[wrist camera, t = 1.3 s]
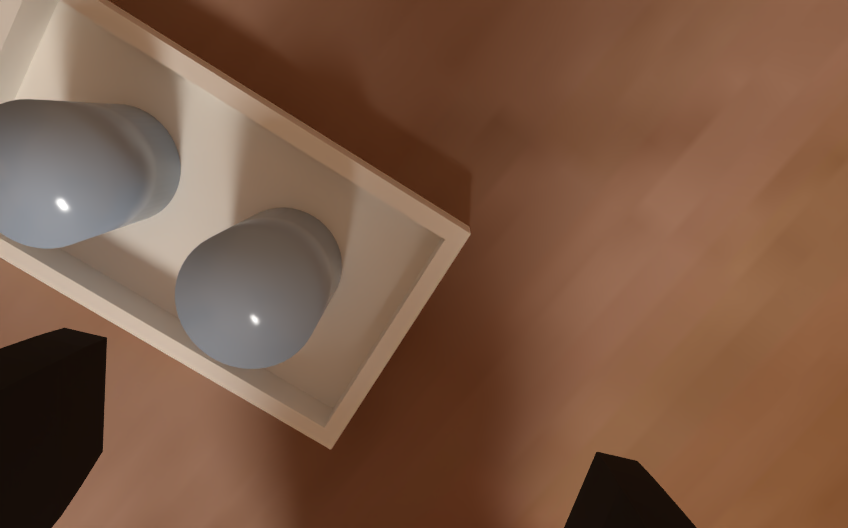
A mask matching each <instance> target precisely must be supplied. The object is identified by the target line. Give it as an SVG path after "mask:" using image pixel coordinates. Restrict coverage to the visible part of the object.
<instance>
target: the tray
mask: <svg viewBox="0 0 848 528" xmlns="http://www.w3.org/2000/svg"><path fill="white" fill-rule="evenodd" d="M18 99H35V100H55V101H75V102H94V103H114V104H126V105H130V106H134V107H136V108H139V109H141V110H143V111H145V112H147V113H149V114H150V115H152V116H153V117H155V118H156V119H157V120H158V121H159V122H160V123H161V124H162V125H163V126H164V127H165V128H166V129H167V131H168V132H169V134H170V135H171V137H172V139H173V141H174V142H175V145H176V147H177V150H178V153H179V157H180V164H181V174H180V181H179V185H178V188H177V191H176V193H175V195H174V197H173V198H172V200H171V201H170V203H169V204H168V205H167V206H166V207H165V208H164V209H163V210H162V211H160V212H159V213H157V214H156V215H154V216H152V217H150V218H147V219H144V220H141V221H138V222H136V223H133V224H130V225H127V226H124V227H121V228H118V229H115V230H112V231H109V232H107V233H104V234H101V235H98V236H95V237H92V238H89V239H86V240H83V241H80V242H77V243H75V244H72V245H68V246H65V247H60V248H52V249H43V248H35V247H30V246H26V245H23V244H20V243H18V242H16V241H13V240H11V239H9V238H8V237H6V236H4V235H3V234H1V233H0V258H2V259H4V260H6V261H7V262H9V263H11V264H12V265H14V266H16V267H18V268H19V269H21V270H23V271H24V272H26V273H28V274H30V275H31V276H33V277H35V278H36V279H38V280H40V281H42V282H43V283H45V284H47V285H48V286H50V287H52V288H54V289H55V290H57V291H59V292H61V293H62V294H64V295H66V296H67V297H69V298H71V299H73V300H74V301H76V302H78V303H79V304H81V305H83V306H85V307H86V308H88V309H90V310H91V311H93V312H95V313H97V314H98V315H100V316H102V317H103V318H105V319H107V320H109V321H110V322H112V323H114V324H116V325H117V326H119V327H121V328H122V329H124V330H126V331H128V332H129V333H131V334H133V335H134V336H136V337H138V338H140V339H141V340H143V341H145V342H146V343H148V344H150V345H152V346H153V347H155V348H157V349H158V350H160V351H162V352H164V353H165V354H167V355H169V356H170V357H172V358H174V359H176V360H177V361H179V362H181V363H183V364H184V365H186V366H188V367H189V368H191V369H193V370H195V371H196V372H198V373H200V374H201V375H203V376H205V377H207V378H208V379H210V380H212V381H213V382H215V383H217V384H219V385H220V386H222V387H224V388H225V389H227V390H229V391H231V392H232V393H234V394H236V395H238V396H239V397H241V398H243V399H244V400H246V401H248V402H250V403H251V404H253V405H255V406H256V407H258V408H260V409H262V410H263V411H265V412H267V413H268V414H270V415H272V416H274V417H275V418H277V419H279V420H280V421H282V422H284V423H286V424H287V425H289V426H291V427H293V428H294V429H296V430H298V431H299V432H301V433H303V434H305V435H306V436H308V437H310V438H311V439H313V440H315V441H317V442H318V443H320V444H322V445H323V446H325V447H327V448H329V449H330V450H331V449H332V447H333V446H334V444H335V443H336V441H337V440H338V438H339V437H340V435H341V434H342V432H343V431H344V429H345V427H346V426H347V424H348V423H349V421H350V420H351V418H352V417H353V415H354V414H355V412H356V410H357V409H358V407H359V406H360V404H361V403H362V401H363V400H364V398H365V397H366V395H367V393H368V392H369V390H370V389H371V387H372V386H373V384H374V383H375V381H376V380H377V378H378V377H379V375H380V373H381V372H382V370H383V369H384V367H385V366H386V364H387V363H388V361H389V360H390V358H391V356H392V355H393V353H394V352H395V350H396V349H397V347H398V346H399V344H400V343H401V341H402V339H403V338H404V336H405V335H406V333H407V332H408V330H409V329H410V327H411V326H412V324H413V323H414V321H415V319H416V318H417V316H418V315H419V313H420V312H421V310H422V309H423V307H424V306H425V304H426V302H427V301H428V299H429V298H430V296H431V295H432V293H433V292H434V290H435V289H436V287H437V285H438V284H439V282H440V281H441V279H442V278H443V276H444V275H445V273H446V272H447V270H448V269H449V267H450V265H451V264H452V262H453V261H454V259H455V258H456V256H457V255H458V253H459V252H460V250H461V248H462V247H463V245H464V244H465V242H466V241H467V239H468V238H469V236H470V235H471V232H470V227H469V226H468V225H466V224H465V223H463V222H461V221H460V220H458V219H457V218H455V217H453V216H452V215H450V214H449V213H447V212H445V211H444V210H442V209H441V208H439V207H437V206H436V205H434V204H433V203H431V202H429V201H428V200H426V199H425V198H423V197H421V196H420V195H418V194H417V193H415V192H413V191H412V190H410V189H409V188H407V187H405V186H404V185H402V184H401V183H399V182H397V181H396V180H394V179H393V178H391V177H389V176H388V175H386V174H385V173H383V172H381V171H380V170H378V169H377V168H375V167H373V166H372V165H370V164H369V163H367V162H365V161H364V160H362V159H361V158H359V157H357V156H356V155H354V154H353V153H351V152H350V151H348V150H346V149H345V148H343V147H342V146H340V145H338V144H337V143H335V142H334V141H332V140H330V139H329V138H327V137H326V136H324V135H322V134H321V133H319V132H318V131H316V130H314V129H313V128H311V127H310V126H308V125H306V124H305V123H303V122H302V121H300V120H298V119H297V118H295V117H294V116H292V115H290V114H289V113H287V112H286V111H284V110H282V109H281V108H279V107H278V106H276V105H274V104H273V103H271V102H270V101H268V100H266V99H265V98H263V97H262V96H260V95H258V94H257V93H255V92H254V91H252V90H250V89H249V88H247V87H246V86H244V85H242V84H241V83H239V82H238V81H236V80H234V79H233V78H231V77H230V76H228V75H226V74H225V73H223V72H222V71H220V70H218V69H217V68H215V67H214V66H212V65H210V64H209V63H207V62H206V61H204V60H202V59H201V58H199V57H198V56H196V55H195V54H193V53H191V52H190V51H188V50H187V49H185V48H183V47H182V46H180V45H179V44H177V43H175V42H174V41H172V40H171V39H169V38H167V37H166V36H164V35H163V34H161V33H159V32H158V31H156V30H155V29H153V28H151V27H150V26H148V25H147V24H145V23H143V22H142V21H140V20H139V19H137V18H135V17H134V16H132V15H131V14H129V13H127V12H126V11H124V10H123V9H121V8H119V7H118V6H116V5H115V4H113V3H111V2H110V1H108V0H0V104H2V103H5V102H8V101H12V100H18ZM284 207H285V208H293V209H297V210H301V211H303V212H306V213H308V214H310V215H312V216H314V217H315V218H317V219H318V220H319V221H321V222H322V223H323V224H324V225H325V226H326V227H327V228H328V229H329V231H330V232H331V233H332V235H333V236H334V238H335V240H336V242H337V244H338V246H339V249H340V253H341V258H342V274H341V279H340V282H339V285H338V288H337V289H336V291H335V293H334V295H333V297H332V299H331V300H330V302H329V304H328V306H327V308H326V310H325V311H324V313H323V315H322V317H321V319H320V320H319V322H318V324H317V326H316V328H315V329H314V331H313V333H312V335H311V337H310V338H309V340H308V341H307V343H306V344H305V345H304V346H303V347H302V348H301V349H300V350H299V352H297V353H296V354H295V355H293V356H292V357H291V358H289V359H287V360H286V361H284V362H282V363H279V364H277V365H274V366H270V367H267V368H260V369H244V368H237V367H233V366H229V365H226V364H224V363H221V362H219V361H217V360H215V359H213V358H211V357H210V356H208V355H207V354H205V353H204V352H203V351H202V350H201V349H199V348H198V347H197V346H196V345H195V344H194V343H193V341H192V340H191V339H190V338H189V336H188V335H187V334H186V332H185V330H184V328H183V326H182V325H181V322H180V320H179V317H178V314H177V310H176V304H175V286H176V280H177V277H178V273H179V271H180V269H181V266H182V264H183V263H184V261H185V260H186V258H187V257H188V255H189V254H190V253H191V252H192V251H193V250H194V249H195V248H196V247H197V246H198V245H199V244H201V243H202V242H204V241H205V240H207V239H209V238H210V237H212V236H214V235H216V234H218V233H220V232H222V231H224V230H226V229H228V228H230V227H232V226H234V225H235V224H237V223H239V222H241V221H243V220H245V219H247V218H249V217H251V216H253V215H255V214H257V213H259V212H261V211H264V210H267V209H272V208H284Z"/></svg>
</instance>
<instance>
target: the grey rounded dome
mask: <svg viewBox="0 0 848 528" xmlns="http://www.w3.org/2000/svg"><path fill="white" fill-rule="evenodd" d="M341 274H342V258H341V253H340V249H339V246H338V244H337V242H336V240H335V238H334V236H333V235H332V233H331V232H330V231H329V229H328V228H327V227H326V226H325V225H324V224H323V223H322V222H321V221H319V220H318V219H317V218H315V217H314V216H312V215H310V214H308V213H306V212H303V211H301V210H297V209H293V208H285V207H284V208H272V209H267V210H264V211H261V212H259V213H257V214H255V215H253V216H251V217H249V218H247V219H245V220H243V221H241V222H239V223H237V224H235V225H234V226H232V227H230V228H228V229H226V230H224V231H222V232H220V233H218V234H216V235H214V236H212V237H210V238H209V239H207V240H205V241H204V242H202V243H201V244H199V245H198V246H197V247H196V248H195V249H194V250H193V251H192V252H191V253H190V254H189V255H188V257H187V258H186V260H185V261H184V263H183V264H182V266H181V269H180V271H179V273H178V277H177V280H176V286H175V304H176V310H177V314H178V317H179V320H180V322H181V325H182V326H183V328H184V330H185V332H186V334H187V335H188V336H189V338H190V339H191V340H192V341H193V343H194V344H195V345H196V346H197V347H198V348H199V349H201V350H202V351H203V352H204V353H205V354H207V355H208V356H210V357H211V358H213V359H215V360H217V361H219V362H221V363H224V364H226V365H229V366H233V367H237V368H244V369H260V368H267V367H270V366H274V365H277V364H279V363H282V362H284V361H286V360H287V359H289V358H291V357H292V356H293V355H295V354H296V353H297V352H299V350H300V349H301V348H302V347H303V346H304V345H305V344H306V343H307V341H308V340H309V338H310V337H311V335H312V333H313V331H314V329H315V328H316V326H317V324H318V322H319V320H320V319H321V317H322V315H323V313H324V311H325V310H326V308H327V306H328V304H329V302H330V300H331V299H332V297H333V295H334V293H335V291H336V289H337V288H338V285H339V282H340V279H341Z"/></svg>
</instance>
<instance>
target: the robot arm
mask: <svg viewBox="0 0 848 528" xmlns="http://www.w3.org/2000/svg"><path fill="white" fill-rule="evenodd" d="M106 347H107V338H106V337H102V336H97V335H93V334H89V333H85V332H80V331H76V330H72V329H67V328H62V329H59V330H55V331H52V332H48V333H45V334H42V335H39V336H35V337H33V338H30V339H27V340H24V341H21V342H18V343H15V344H12V345H9V346H6V347H4V348H1V349H0V528H52V527H53V525H54V524H55V523H56V522H57V520H58V519H59V518H60V517H61V515H62V514H63V512H64V511H65V509H66V508H67V506H68V505H69V503H70V502H71V500H72V499H73V497H74V496H75V494H76V493H77V491H78V490H79V488H80V487H81V485H82V484H83V482H84V480H85V479H86V477H87V476H88V474H89V472H90V471H91V469H92V468H93V466H94V464H95V463H96V461H97V460H98V458H99V456H100V455H101V453H102V452H103V428H104V401H105V374H106ZM564 528H696V527H695V525H694V524H693V523H692V522H691V521H690V520H689V518H688V517H687V516H686V515H685V514H684V513H683V511H682V510H681V509H680V508H679V507H678V506H677V504H676V503H675V502H674V501H673V500H672V499H671V498H670V496H669V495H668V494H667V493H666V492H665V491H664V489H663V488H662V487H661V486H660V485H659V484H658V483H657V482H656V480H655V479H654V478H653V477H652V476H651V475H650V474H649V473H648V472H647V471H646V470H645V469H644V468H643V467H642V465H641V464H640V463H639V462H638V461H635V460H631V459H626V458H622V457H618V456H613V455H609V454H605V453H600V452H596V454H595V457H594V459H593V461H592V464H591V466H590V468H589V471H588V473H587V475H586V478H585V480H584V482H583V485H582V487H581V489H580V492H579V494H578V496H577V499H576V501H575V503H574V506H573V508H572V510H571V513H570V515H569V517H568V520H567V522H566V524H565V527H564Z"/></svg>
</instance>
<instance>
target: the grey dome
mask: <svg viewBox="0 0 848 528" xmlns="http://www.w3.org/2000/svg"><path fill="white" fill-rule="evenodd" d="M180 174H181V164H180V157H179V153H178V150H177V147H176V145H175V142H174V141H173V139H172V137H171V135H170V134H169V132H168V131H167V129H166V128H165V127H164V126H163V125H162V124H161V123H160V122H159V121H158V120H157V119H156V118H155V117H153V116H152V115H150V114H149V113H147V112H145V111H143V110H141V109H139V108H136V107H134V106H130V105H126V104H114V103H94V102H75V101H55V100H35V99H18V100H12V101H8V102H5V103H2V104H0V233H1V234H3V235H4V236H6V237H8V238H9V239H11V240H13V241H16V242H18V243H20V244H23V245H26V246H30V247H35V248H43V249H52V248H60V247H65V246H68V245H72V244H75V243H77V242H80V241H83V240H86V239H89V238H92V237H95V236H98V235H101V234H104V233H107V232H109V231H112V230H115V229H118V228H121V227H124V226H127V225H130V224H133V223H136V222H138V221H141V220H144V219H147V218H150V217H152V216H154V215H156V214H157V213H159V212H160V211H162V210H163V209H164V208H165V207H166V206H167V205H168V204H169V203H170V201H171V200H172V198H173V197H174V195H175V193H176V191H177V188H178V185H179V181H180Z"/></svg>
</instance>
